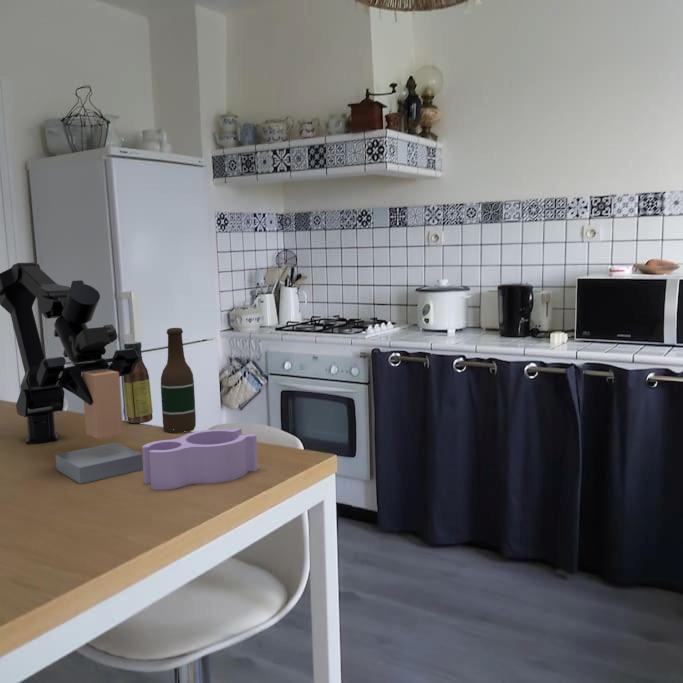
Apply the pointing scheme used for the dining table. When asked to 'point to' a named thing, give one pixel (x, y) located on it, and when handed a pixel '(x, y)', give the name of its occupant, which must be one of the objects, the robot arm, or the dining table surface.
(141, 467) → the plate
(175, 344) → the beer bottle
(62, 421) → the dining table surface
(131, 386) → the sauce bottle
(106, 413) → the tan block
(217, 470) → the clip
